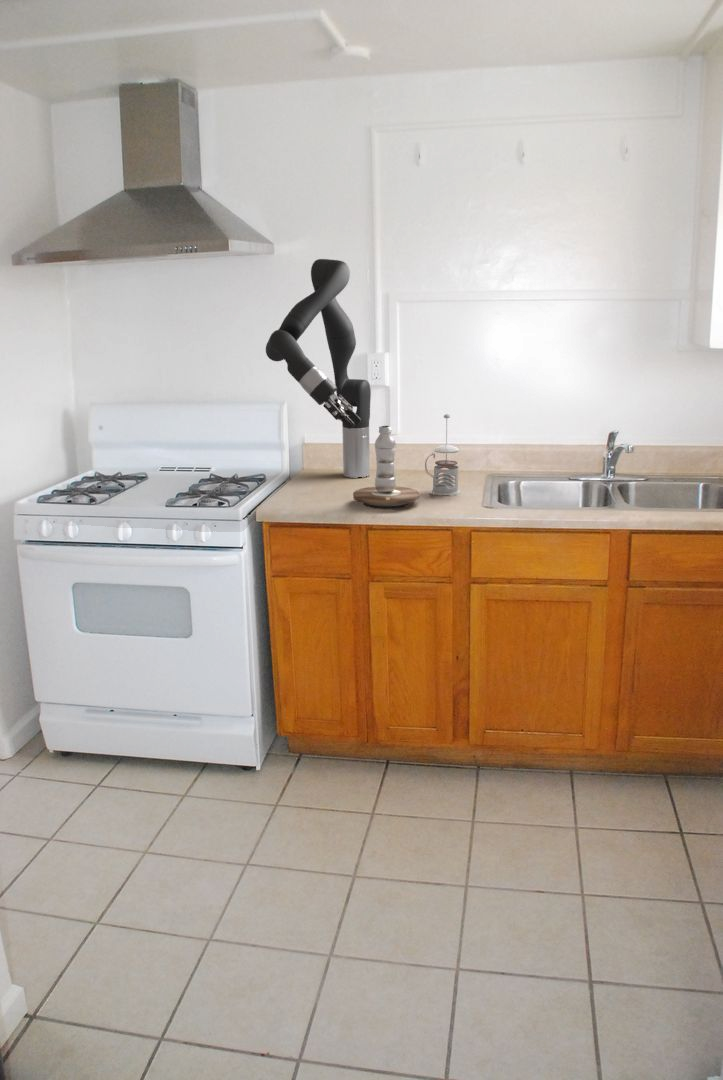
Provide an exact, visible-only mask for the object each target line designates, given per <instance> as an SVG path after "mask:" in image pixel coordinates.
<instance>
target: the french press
mask: <svg viewBox="0 0 723 1080" xmlns="http://www.w3.org/2000/svg"><path fill="white" fill-rule="evenodd" d="M450 417H451V416H450V414H448V413H445V414H444V415H443V418H444V419H446V422H445V423H446V424H445V426H446V430H445V432H446V433H445V434H446V435H445V436H446V437H445V444H442V445H441V444H440V445H439V446H437V447H435V448H434V449H433V451H434V452H435V453H434V452H432V453H431V454H429V455H428V456H427V457H426V459H425V461H424V469H425V472H426V474H427V475H429V476H430V477H431V478H433V480H432V481H433V482H432V483H433V485H432V486H433V487H432V490H430V493H431V492H432V493H434V494H433V495H435V494H438V495H437V496H442V495H451V496H456V495H455V494H458V495H460V494H461V493H460V491H461V490H460V489H459V466H457V465H458V462H457V461H456V460H451V459H450V460H449V459H447V454H456V453H459V451H460V449H459V448H458V447H456V446H454V445H451V444H448V419H450ZM436 453H437V454H445V459H441V460H436V461H435V462H434V463H435V466H434V467H433V474H432V473H431V472H430V471H429V470H428V467H427V462H428V459H429V458H430V457H431V456H433V459H435V458H436ZM432 493H431V494H432ZM459 493H460V494H459Z"/></svg>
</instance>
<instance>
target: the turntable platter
mask: <svg viewBox="0 0 723 1080" xmlns="http://www.w3.org/2000/svg"><path fill="white" fill-rule="evenodd" d="M352 495H353V497H352V498H353V500H355V501H356V502H358V503H362V504H363V503H367V504H375V505H396V504H405V503H409V504H410V503H413V502H415V501H418V500H419V499H420V492H419V491H418V490H416V489H414V488H410V487H405V486H397V485H396V487H395V490H394V491H392V492H387V493H384V492H379V491H377V490H376V488H375V486H367V487H362V488H360V489H357V490H356V489H355V491H354V492H353V494H352Z"/></svg>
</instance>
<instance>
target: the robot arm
mask: <svg viewBox="0 0 723 1080" xmlns="http://www.w3.org/2000/svg"><path fill="white" fill-rule="evenodd" d="M350 273H351V271H350V267H349V265H348V264H347V263H346V261H343V260H340V259H339V260H338V259H330V258H329V259H328V258H318V259H316V260H314V261H313V263H312V265H311V268H310V278H311V282H312V283H311V284H312V286H313V290H314V291H313V292H312V293H311V294H309V295H308V296H306V297H304V298H303V299H301V300H299V301H298V302H297V303H296V304H295V305H294V306H293V307H292V308H291V310H290V311H289V312H288V314H287V315H286V316H285V317H284V319H283V321H282V322H281V325H280V327H279V328H278V329H276V330H274V331H273V332H272V333H271V334H270V336H269V339H268V341H267V343H266V345H265V354H266V357H268V359H269V360H271V361H273V362H281V361H285V362H286V364H287V369H286V370H287V371H288V373H289V374H290V375H291V377H293V379H294V380H295V381H297V383H299V385H300V386H301V388H302V389H303V390H304V392H306V393H307V394H308V395H309V396H310V397H311V398H312V399H313V401H314V402H315V403H316V404H317V405H319V406H321V405H323V407H324V409H326V410H327V412H328V413H329V414H330V415H331V416H332V417H333V418H334V420H336V421H340V422H341V424H342V425H341V427H342V471H343V474H342V475H343V477H345V478H350V479H351V478H352V479H353V478H354V479H358V477H362V478H367V477H369V476H370V475H371V474H370V473H371V472H370V470H371V468H370V467H371V466H370V419H371V396H372V393H371V392H372V390H371V386H370V383H369V381H368V380H366V379H356V378H355V379H354V378H349V376H348V365H349V362H350V360H351V358H352V357H353V354H354V352H355V349H356V347H357V346H356V345H357V339H356V334H355V329H354V325H353V323H352V321H351V319H350V317H349V316H348V314H347V313H346V312H345V311H344V309H343V308H342V307H341V305H340V303H339V301H338V300H337V298H336V297H337V296H338V295H339V294H340V293H341V292H342V291H343V290H344V289H345V288H346V287H347V285H348V284H349V281H350V276H351V274H350ZM319 313H321V317H322V321H323V326H324V331H325V336H326V342H327V346H328V349H329V353H330V358H331V363H332V369H333V375H334V377H333V378H334V382H332V380H330V379H329V377H328V376H327V375H326V374H325V373H324V372H323V371H322V370H320V369H319V368H318V367H317V366H316V365H315V364H314V363H313V362H312V361H311V360H310V359H309V358H308V357H307V356H306V355H305V353H304V351H303V349H302V348H301V347H300V345H299V343H298V340H299V338H300V337H301V336H302V335H303V334H304V333H305V332H306V330H307V329H308V328H309V326H310V325H311V324H312V322H313V320H314V319H315V318H316V317H317V316H318V315H319ZM335 392H336V393H335ZM354 408H356V411H354ZM366 476H367V477H366Z"/></svg>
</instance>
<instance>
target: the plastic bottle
mask: <svg viewBox="0 0 723 1080" xmlns="http://www.w3.org/2000/svg"><path fill="white" fill-rule="evenodd" d="M378 433H379V435H378V436H377V438H376V439H375V442H374V450H375V458H376V470H375V472H376V473H375V479H374V487H375V488H376V490H377V491H379V492H384V493H387V492H392V491H394V490H395V487H396V486H397V481H396V480H397V479H396V475H395V473H396V472H395V456H396V455H395V454H396V448H397V444H396V440H395V439H394V437H393V436H392V426H391V425H380V426H378Z"/></svg>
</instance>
